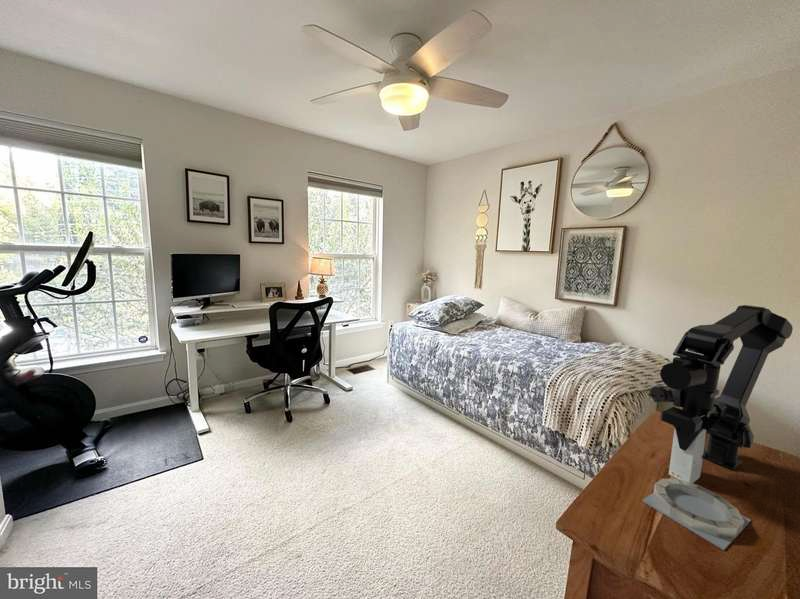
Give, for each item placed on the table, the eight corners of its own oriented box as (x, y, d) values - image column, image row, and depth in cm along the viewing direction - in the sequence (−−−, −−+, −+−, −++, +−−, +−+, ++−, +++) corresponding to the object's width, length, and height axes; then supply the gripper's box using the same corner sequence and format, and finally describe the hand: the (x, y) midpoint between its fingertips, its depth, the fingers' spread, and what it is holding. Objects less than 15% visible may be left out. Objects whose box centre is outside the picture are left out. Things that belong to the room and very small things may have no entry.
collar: (671, 479, 76) (672, 472, 76) (750, 520, 65) (752, 512, 64) (642, 499, 70) (643, 490, 69) (725, 548, 58) (727, 538, 58)
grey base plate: (672, 480, 76) (672, 479, 76) (750, 521, 65) (750, 519, 65) (641, 501, 69) (642, 500, 69) (723, 550, 58) (724, 549, 58)
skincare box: (690, 486, 75) (698, 437, 73) (666, 474, 78) (673, 427, 77) (701, 476, 78) (708, 429, 76) (677, 466, 82) (684, 421, 80)
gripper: (675, 366, 86) (666, 421, 88) (639, 377, 77) (630, 438, 79) (733, 381, 77) (721, 442, 79) (700, 396, 67) (687, 465, 70)
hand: (688, 445), depth 77 cm, fingers closed on skincare box, 6 cm apart
